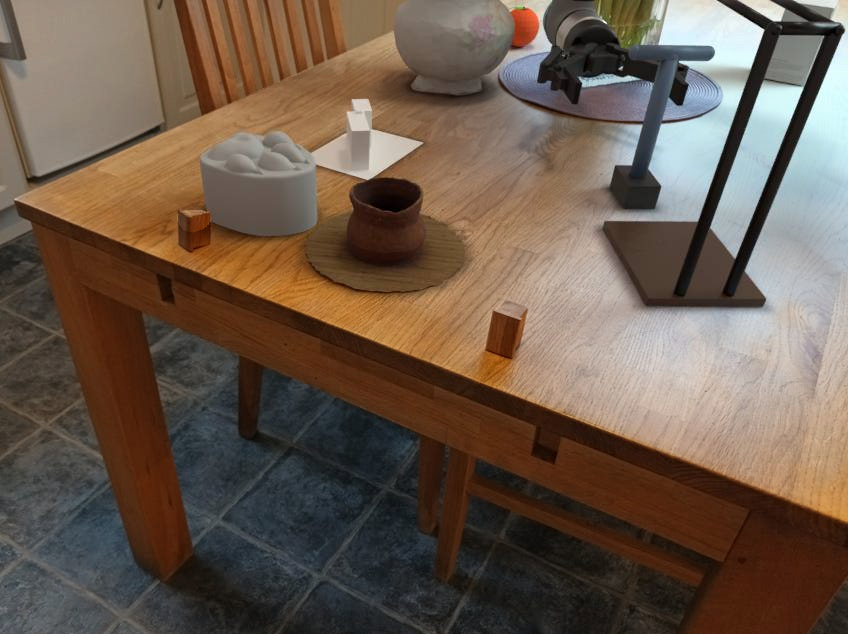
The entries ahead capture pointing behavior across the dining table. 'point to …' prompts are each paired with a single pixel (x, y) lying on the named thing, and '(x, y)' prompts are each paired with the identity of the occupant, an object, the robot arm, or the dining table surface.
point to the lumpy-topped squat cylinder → (260, 184)
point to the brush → (652, 123)
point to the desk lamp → (695, 241)
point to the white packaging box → (798, 47)
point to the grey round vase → (452, 42)
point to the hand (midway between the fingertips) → (630, 94)
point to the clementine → (524, 26)
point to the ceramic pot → (386, 241)
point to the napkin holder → (363, 146)
